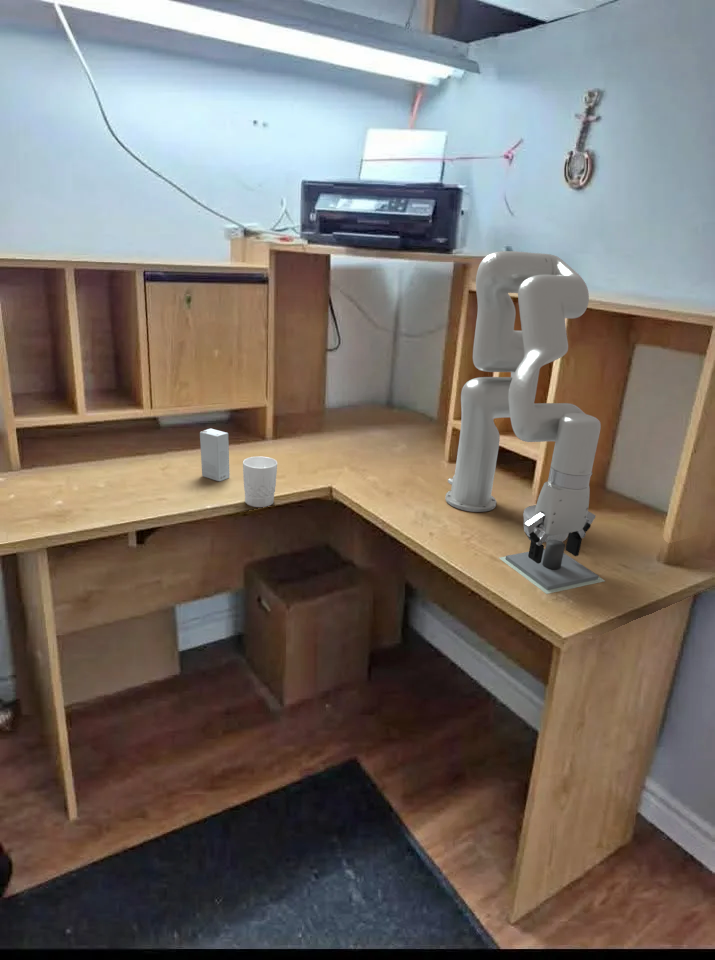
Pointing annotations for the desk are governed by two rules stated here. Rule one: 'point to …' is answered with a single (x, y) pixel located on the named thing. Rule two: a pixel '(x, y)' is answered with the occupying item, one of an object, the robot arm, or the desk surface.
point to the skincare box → (214, 454)
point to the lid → (552, 567)
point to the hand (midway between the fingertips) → (553, 556)
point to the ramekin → (529, 515)
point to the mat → (551, 589)
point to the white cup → (259, 480)
